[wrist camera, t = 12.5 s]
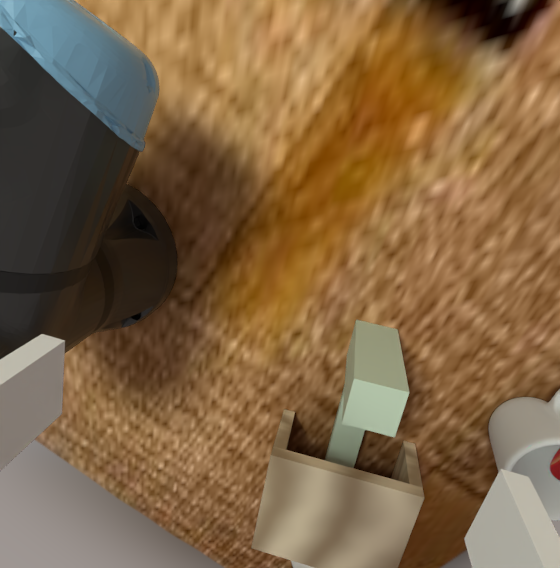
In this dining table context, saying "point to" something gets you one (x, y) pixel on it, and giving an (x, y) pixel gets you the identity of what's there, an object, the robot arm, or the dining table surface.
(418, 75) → the dining table surface
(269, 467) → the beige arch
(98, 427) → the dining table surface
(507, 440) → the cup
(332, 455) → the sage green mallet
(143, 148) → the robot arm
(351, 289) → the dining table surface
